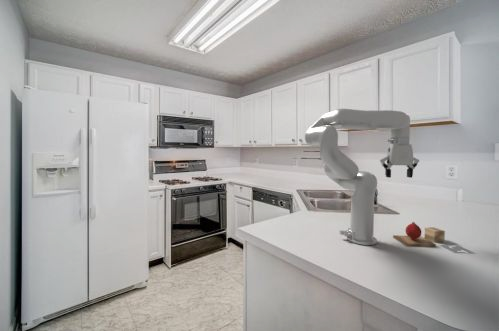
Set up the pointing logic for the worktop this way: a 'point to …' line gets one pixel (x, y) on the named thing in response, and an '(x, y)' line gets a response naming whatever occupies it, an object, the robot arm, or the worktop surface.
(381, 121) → the robot arm
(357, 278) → the worktop surface
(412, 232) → the onion
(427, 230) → the oak block
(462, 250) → the tile
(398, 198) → the worktop surface
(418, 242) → the board
